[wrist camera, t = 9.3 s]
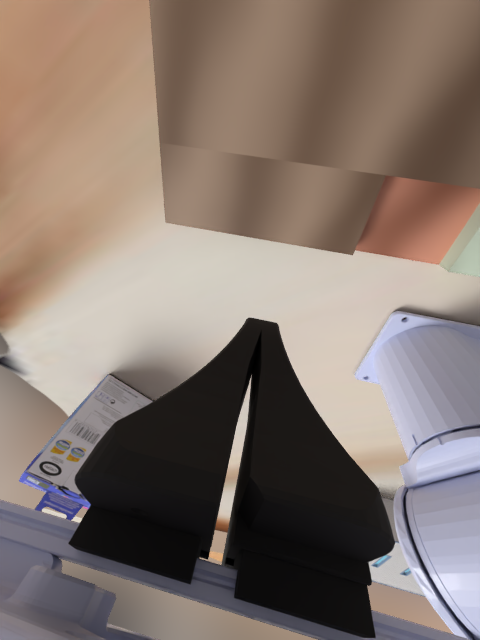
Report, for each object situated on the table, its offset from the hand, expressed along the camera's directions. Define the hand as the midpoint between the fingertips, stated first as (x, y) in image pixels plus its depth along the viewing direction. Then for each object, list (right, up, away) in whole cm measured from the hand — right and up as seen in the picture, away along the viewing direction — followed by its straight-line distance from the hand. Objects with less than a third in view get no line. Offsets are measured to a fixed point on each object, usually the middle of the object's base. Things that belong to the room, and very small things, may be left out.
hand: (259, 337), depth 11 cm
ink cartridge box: (-17, -11, +23) cm, 30 cm away
